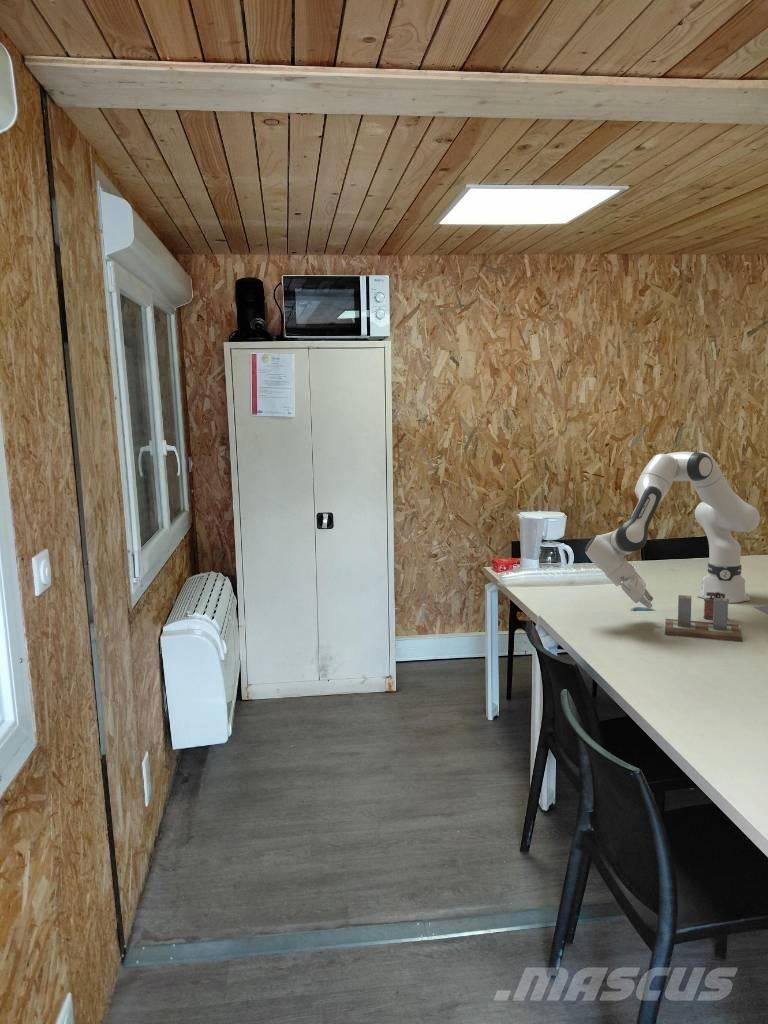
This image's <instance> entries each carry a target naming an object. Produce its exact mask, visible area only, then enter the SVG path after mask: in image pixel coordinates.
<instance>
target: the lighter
mask: <svg viewBox="0 0 768 1024" xmlns="http://www.w3.org/2000/svg"><path fill="white" fill-rule="evenodd" d="M706 596H710V598H703V601H704V606H703V607H704V608H703V609H704V610H703V619H704V620H709V621H713V611H714V598H721V596H722V598H725V593H719V592H715V593H714V592H707V593H706ZM712 596H714V597H712ZM727 600H728V602H729V599H727ZM728 613H729V612H727V621H728V620H729V616H728V615H729V614H728Z"/></svg>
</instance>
